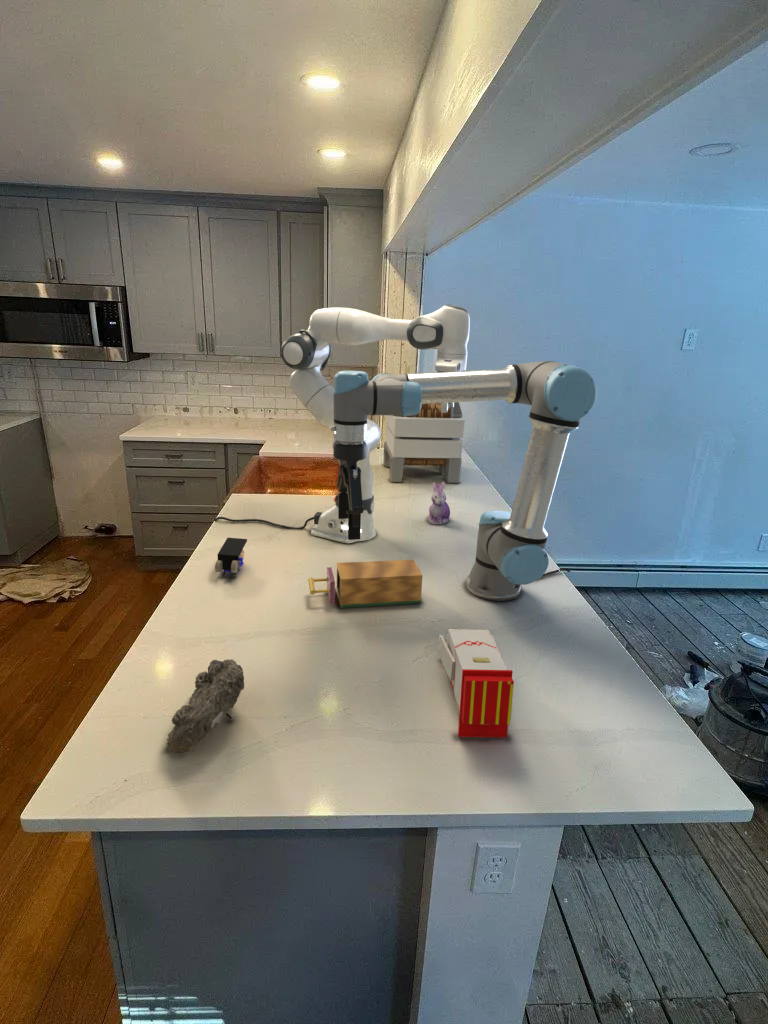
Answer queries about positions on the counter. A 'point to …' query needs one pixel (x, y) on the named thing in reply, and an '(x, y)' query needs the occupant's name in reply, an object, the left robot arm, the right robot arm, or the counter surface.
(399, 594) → the wooden box
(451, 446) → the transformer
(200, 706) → the fossil
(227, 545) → the figurine character
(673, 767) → the counter surface
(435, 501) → the figurine
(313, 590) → the drawer
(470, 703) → the toy
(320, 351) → the left robot arm
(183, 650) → the counter surface
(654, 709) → the counter surface
